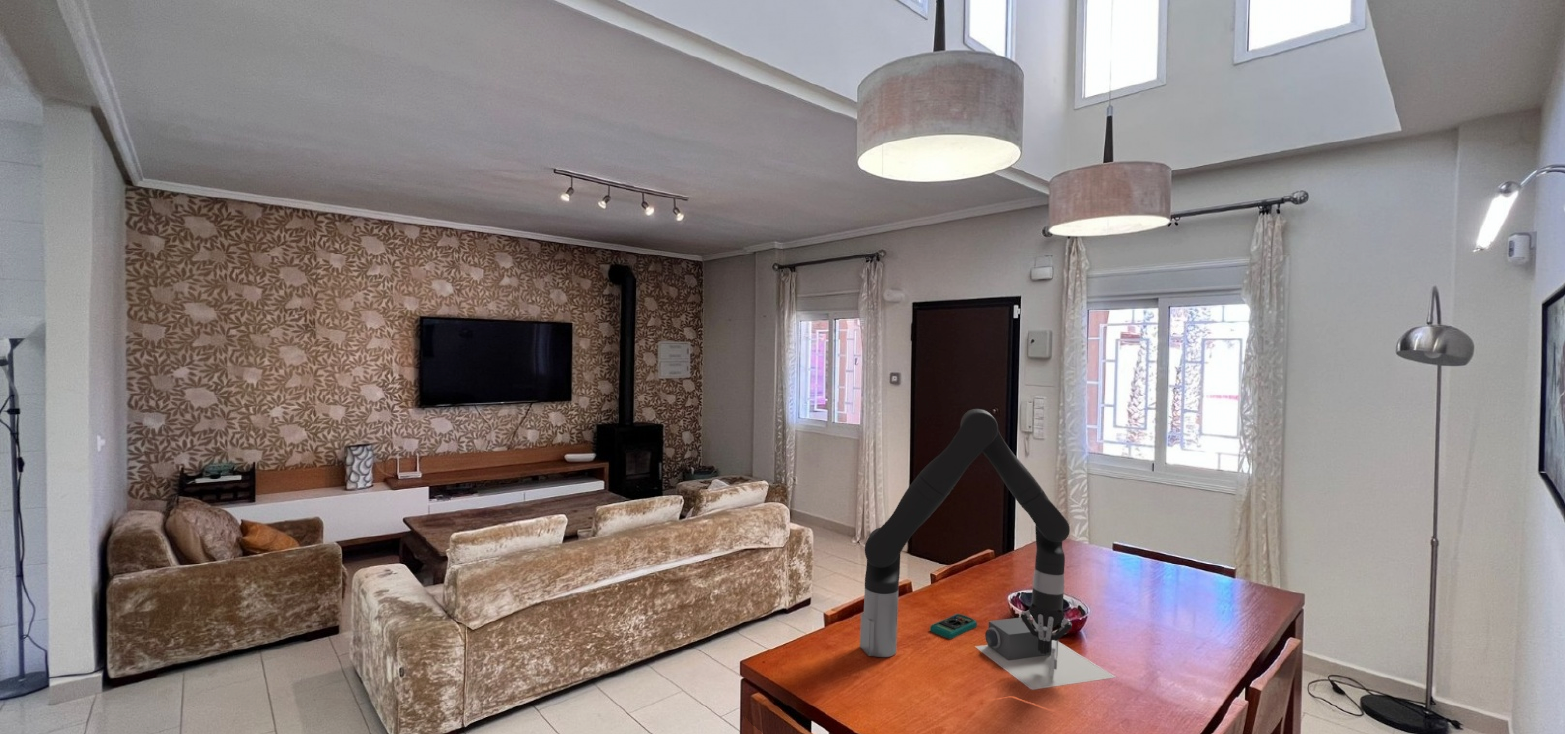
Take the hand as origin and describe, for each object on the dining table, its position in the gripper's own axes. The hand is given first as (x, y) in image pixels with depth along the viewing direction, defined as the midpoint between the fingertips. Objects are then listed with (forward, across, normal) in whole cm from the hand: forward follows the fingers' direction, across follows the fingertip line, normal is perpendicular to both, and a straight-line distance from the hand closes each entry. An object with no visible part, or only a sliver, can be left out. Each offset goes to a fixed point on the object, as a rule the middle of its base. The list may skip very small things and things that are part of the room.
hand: (1043, 652), depth 167 cm
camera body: (+4, -7, +9) cm, 12 cm away
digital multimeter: (+6, -26, +14) cm, 30 cm away
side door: (+4, +3, +3) cm, 6 cm away
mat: (+5, 0, +5) cm, 7 cm away
